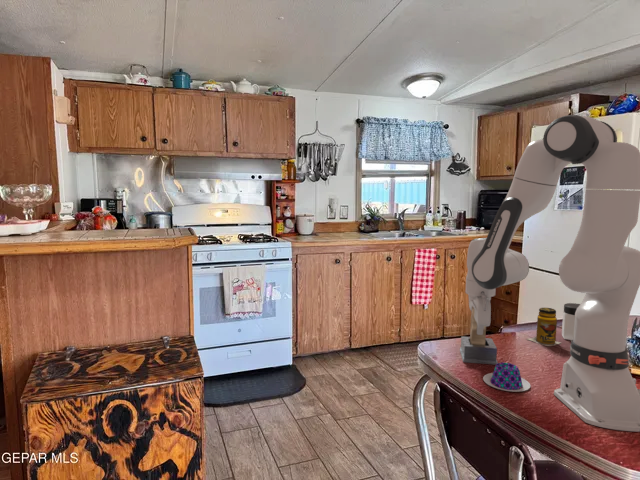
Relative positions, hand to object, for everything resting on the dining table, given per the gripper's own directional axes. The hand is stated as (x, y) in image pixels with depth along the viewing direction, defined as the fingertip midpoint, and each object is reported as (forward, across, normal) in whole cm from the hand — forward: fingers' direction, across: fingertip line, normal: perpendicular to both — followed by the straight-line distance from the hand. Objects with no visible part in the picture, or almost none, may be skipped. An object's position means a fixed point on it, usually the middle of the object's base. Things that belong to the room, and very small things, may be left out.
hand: (478, 331), depth 136 cm
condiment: (+9, +21, -25) cm, 34 cm away
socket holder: (+8, 0, 0) cm, 9 cm away
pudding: (+9, -18, -5) cm, 21 cm away
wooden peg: (+5, 0, 0) cm, 5 cm away
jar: (+9, +27, -37) cm, 47 cm away
